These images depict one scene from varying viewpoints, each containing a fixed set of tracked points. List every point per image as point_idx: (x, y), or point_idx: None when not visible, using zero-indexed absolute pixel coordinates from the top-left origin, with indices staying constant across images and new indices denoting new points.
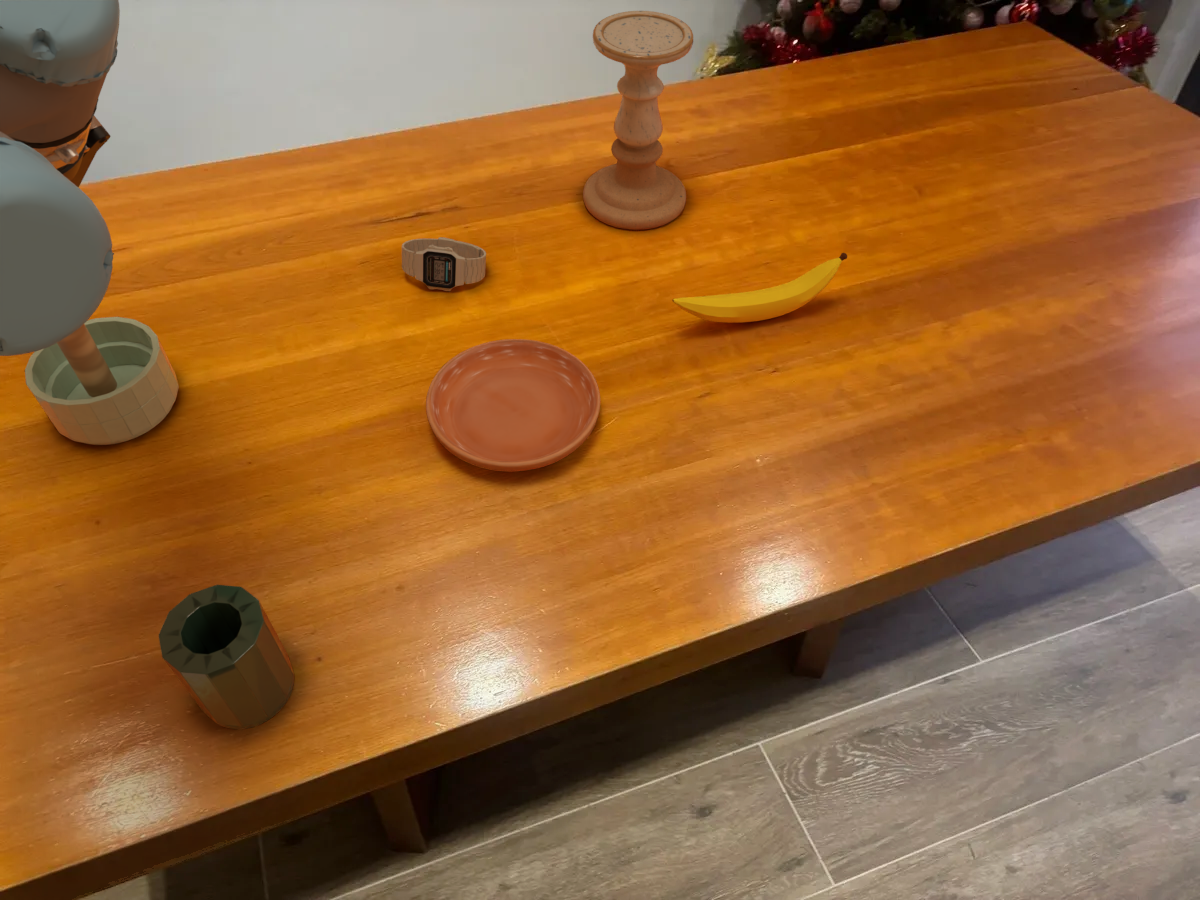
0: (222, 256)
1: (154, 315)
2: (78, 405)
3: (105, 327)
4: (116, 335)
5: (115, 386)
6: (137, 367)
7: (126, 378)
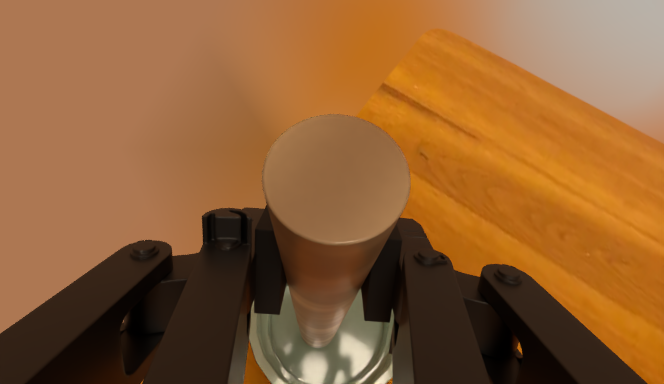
0: (544, 224)
1: (437, 240)
2: (264, 372)
3: None
4: None
5: (327, 344)
6: None
7: (354, 306)
